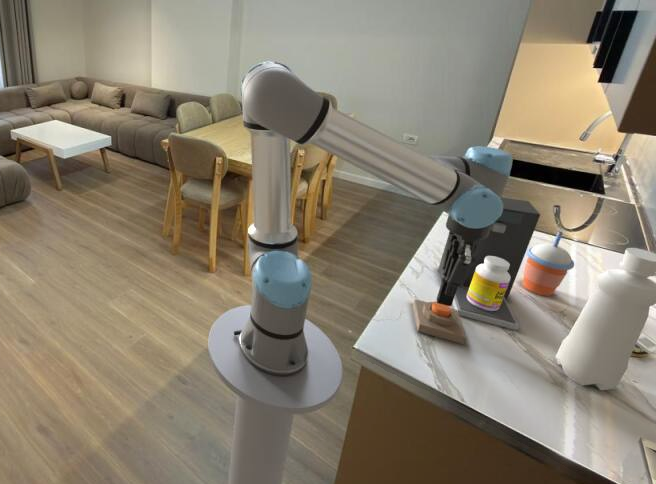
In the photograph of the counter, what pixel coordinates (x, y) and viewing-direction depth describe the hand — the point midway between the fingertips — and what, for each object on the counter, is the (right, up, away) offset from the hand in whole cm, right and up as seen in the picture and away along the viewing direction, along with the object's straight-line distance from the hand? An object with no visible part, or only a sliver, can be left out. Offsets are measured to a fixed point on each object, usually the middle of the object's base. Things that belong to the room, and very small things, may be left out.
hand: (443, 302), depth 94 cm
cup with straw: (+37, -1, +14) cm, 39 cm away
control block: (0, -6, +2) cm, 7 cm away
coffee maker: (+17, -3, +11) cm, 20 cm away
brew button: (0, -3, +1) cm, 3 cm away
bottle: (+20, -11, -12) cm, 26 cm away
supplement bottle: (+15, -3, +7) cm, 17 cm away
